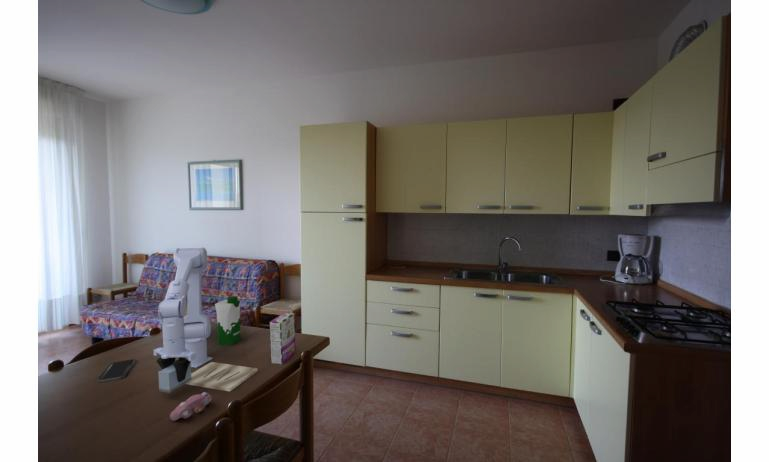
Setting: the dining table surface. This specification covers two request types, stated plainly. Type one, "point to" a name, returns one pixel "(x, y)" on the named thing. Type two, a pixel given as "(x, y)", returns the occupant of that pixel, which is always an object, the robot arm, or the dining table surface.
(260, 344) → the dining table surface
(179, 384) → the block
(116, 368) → the phone
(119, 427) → the dining table surface
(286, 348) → the candy bar box
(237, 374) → the marked board
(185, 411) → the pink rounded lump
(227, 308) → the milk carton
